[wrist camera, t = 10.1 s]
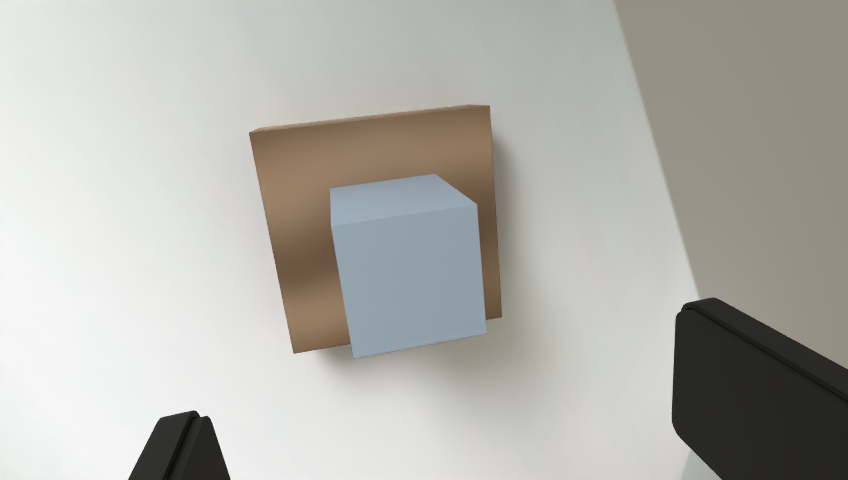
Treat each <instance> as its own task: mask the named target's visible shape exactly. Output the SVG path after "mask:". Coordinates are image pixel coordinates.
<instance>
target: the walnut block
mask: <svg viewBox="0 0 848 480" xmlns="http://www.w3.org/2000/svg"><path fill="white" fill-rule="evenodd" d="M249 136H250V140H251V145H252V150H253V155H254V160H255V165H256V170H257V175H258V180H259V185H260V190H261V195H262V200H263V205H264V210H265V215H266V220H267V225H268V230H269V234H270V239H271V244H272V249H273V254H274V259H275V264H276V269H277V274H278V279H279V284H280V289H281V294H282V299H283V304H284V309H285V314H286V319H287V324H288V328H289V333H290V338H291V343H292V348H293V353H294V354H295V353H301V352H306V351H312V350H318V349H323V348H329V347H335V346H340V345H346V344H351V341H350V335H349V329H348V323H347V318H346V312H345V306H344V300H343V294H342V288H341V282H340V276H339V270H338V265H337V259H336V253H335V247H334V241H333V235H332V229H331V206H330V188H336V187H343V186H350V185H358V184H365V183H372V182H379V181H386V180H394V179H401V178H408V177H415V176H423V175H430V174H436V175H437V176H439V177H440V178H441V179H443V180H444V181H446V182H447V183H448V184H450V185H451V186H452V187H454V188H455V189H457V190H458V191H459V192H461V193H462V194H463V195H465V196H466V197H468V198H469V199H470V200H472V201H473V202H475V203H476V204H477V212H478V225H479V239H480V252H481V265H482V279H483V292H484V305H485V318H486V320H488V319H494V318H499V317H502V310H501V292H500V275H499V258H498V241H497V223H496V206H495V189H494V172H493V155H492V137H491V120H490V106H485V105H462V106H453V107H444V108H435V109H426V110H417V111H408V112H399V113H390V114H381V115H372V116H363V117H354V118H345V119H336V120H327V121H318V122H309V123H300V124H291V125H282V126H273V127H264V128H259V129H257V130H254V131H252V132H250V133H249Z"/></svg>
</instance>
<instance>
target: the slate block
mask: <svg viewBox="0 0 848 480" xmlns="http://www.w3.org/2000/svg"><path fill="white" fill-rule="evenodd" d="M330 206H331V229H332V235H333V241H334V247H335V253H336V259H337V265H338V270H339V276H340V282H341V288H342V294H343V300H344V306H345V312H346V318H347V323H348V329H349V335H350V341H351V347H352V353H353V359H356V358H361V357H367V356H372V355H377V354H382V353H388V352H393V351H398V350H403V349H409V348H414V347H419V346H424V345H430V344H435V343H440V342H445V341H450V340H456V339H461V338H466V337H471V336H477V335H482V334H487V332H486V318H485V305H484V292H483V279H482V265H481V252H480V239H479V225H478V212H477V204H476V203H475V202H473V201H472V200H470V199H469V198H468V197H466V196H465V195H463V194H462V193H461V192H459V191H458V190H457V189H455V188H454V187H452V186H451V185H450V184H448V183H447V182H446V181H444V180H443V179H441V178H440V177H439V176H437V175H436V174H430V175H423V176H415V177H408V178H401V179H394V180H386V181H379V182H372V183H365V184H358V185H350V186H343V187H336V188H330Z"/></svg>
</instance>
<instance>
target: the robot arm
mask: <svg viewBox="0 0 848 480" xmlns="http://www.w3.org/2000/svg"><path fill="white" fill-rule="evenodd" d="M672 423H673V427H674V429H675V431H676V433H677V434H678V436H679V437H680V438H681V439H682V440H683V441H684V442H685V443H686V444H687V445H688V446H689V447H690V448H691V449H692V450H693V451H694V452H695V453H696V454H697V455H698V456H699V457H700V458H701V459H702V460H703V461H704V462H705V463H706V464H707V465H708V466H709V467H710V468H711V469H712V470H713V471H714V472H715V473H716V474H717V475H718V476H719V477H720V478H721V479H722V480H848V369H846V368H844V367H842V366H840V365H839V364H837V363H835V362H833V361H831V360H829V359H828V358H826V357H824V356H822V355H820V354H818V353H817V352H815V351H813V350H811V349H809V348H807V347H806V346H804V345H802V344H800V343H798V342H796V341H794V340H792V339H791V338H789V337H787V336H785V335H783V334H782V333H780V332H778V331H776V330H774V329H773V328H771V327H769V326H767V325H765V324H763V323H762V322H760V321H758V320H756V319H754V318H752V317H750V316H749V315H747V314H745V313H743V312H741V311H739V310H738V309H736V308H734V307H732V306H730V305H728V304H727V303H725V302H723V301H721V300H719V299H717V298H707V299H703V300H698V301H693V302H689V303H686V304H685V305H683V307H682V309H681V312H679V313H678V314H677V316H676V323H675V348H674V373H673V398H672ZM128 480H231V479H230V476H229V473H228V470H227V467H226V464H225V461H224V458H223V455H222V452H221V449H220V446H219V443H218V440H217V437H216V434H215V430H214V427H213V424H212V422H211V419H210V418H209V417H208V416H204V417H200V415H199V414H198V412H197V411H194V410H193V411H189V412H184V413H180V414H175V415H171V416H166V417H162V418H160V419H159V421H158V422H157V424H156V426H155V428H154V430H153V432H152V434H151V436H150V438H149V439H148V441H147V443H146V445H145V447H144V449H143V451H142V453H141V455H140V457H139V459H138V461H137V463H136V465H135V467H134V469H133V471H132V473H131V475H130V477H129V479H128Z"/></svg>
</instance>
